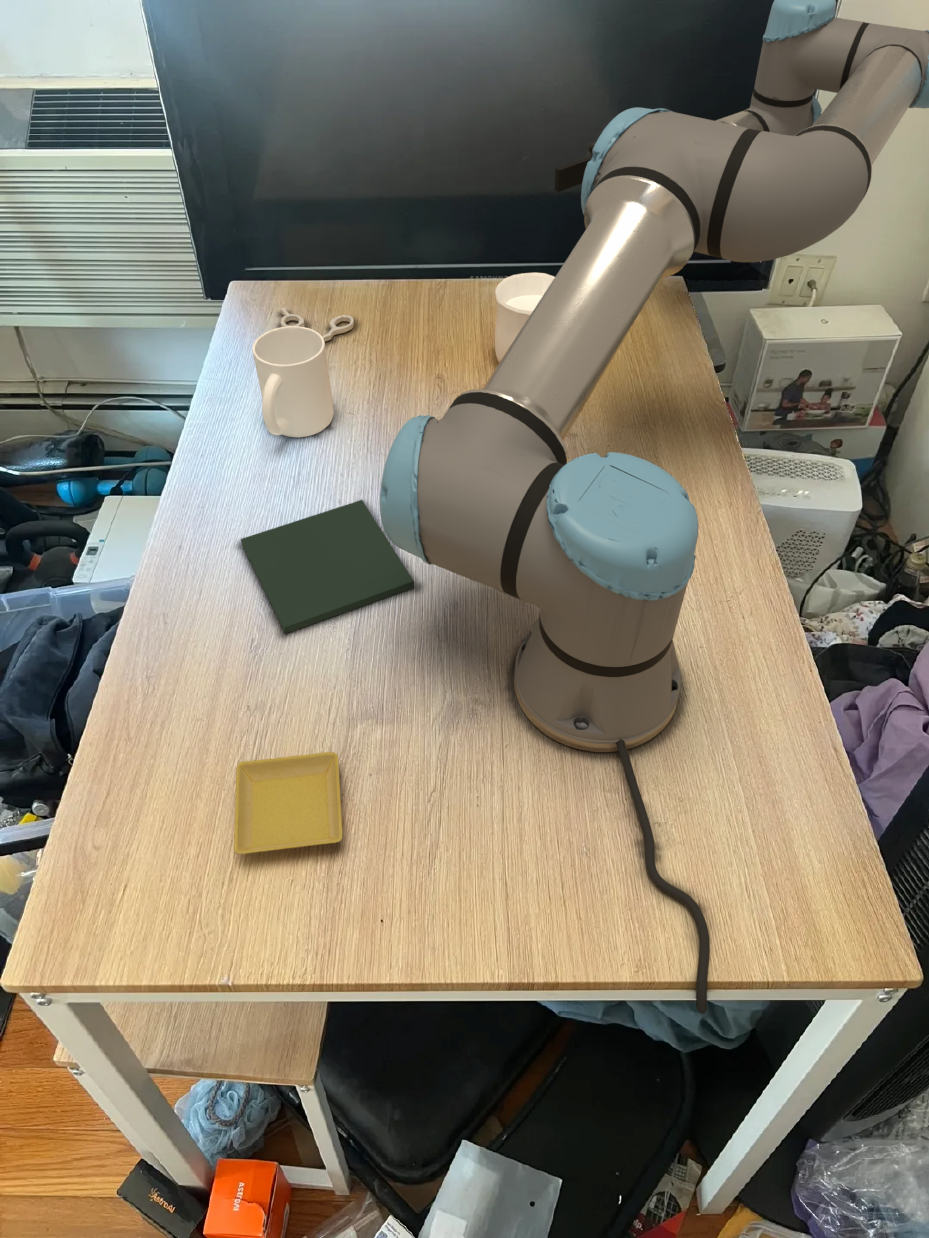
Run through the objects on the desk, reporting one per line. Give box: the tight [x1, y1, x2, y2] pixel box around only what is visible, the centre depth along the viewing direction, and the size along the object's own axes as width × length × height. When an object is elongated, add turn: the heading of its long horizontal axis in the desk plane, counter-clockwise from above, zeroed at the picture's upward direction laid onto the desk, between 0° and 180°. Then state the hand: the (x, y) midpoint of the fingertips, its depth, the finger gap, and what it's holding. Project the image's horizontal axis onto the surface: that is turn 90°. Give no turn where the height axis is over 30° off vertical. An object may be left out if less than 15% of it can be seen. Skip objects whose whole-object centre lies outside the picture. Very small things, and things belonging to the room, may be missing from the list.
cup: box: [494, 272, 556, 363], centre depth 117 cm, size 10×10×10 cm
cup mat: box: [240, 499, 415, 634], centre depth 95 cm, size 14×14×1 cm
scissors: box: [280, 307, 355, 342], centre depth 122 cm, size 11×1×20 cm
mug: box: [252, 325, 335, 438], centre depth 108 cm, size 12×8×10 cm
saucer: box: [233, 751, 344, 855], centre depth 76 cm, size 9×9×2 cm
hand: (590, 201), depth 110 cm, fingers open, 13 cm apart
